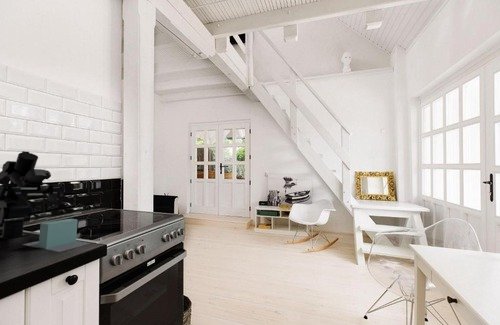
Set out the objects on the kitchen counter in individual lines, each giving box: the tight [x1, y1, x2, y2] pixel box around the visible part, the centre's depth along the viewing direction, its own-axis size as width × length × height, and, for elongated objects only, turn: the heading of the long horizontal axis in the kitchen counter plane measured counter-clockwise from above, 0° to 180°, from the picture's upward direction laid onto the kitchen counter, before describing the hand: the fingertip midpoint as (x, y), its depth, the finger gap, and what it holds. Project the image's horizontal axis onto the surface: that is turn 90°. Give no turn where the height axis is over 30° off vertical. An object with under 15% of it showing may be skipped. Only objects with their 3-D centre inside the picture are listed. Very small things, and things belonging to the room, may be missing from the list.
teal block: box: [38, 218, 79, 250], centre depth 82 cm, size 4×10×8 cm, turn 161°
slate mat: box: [21, 240, 91, 253], centre depth 82 cm, size 19×10×1 cm, turn 71°
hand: (42, 204), depth 86 cm, fingers open, 9 cm apart
